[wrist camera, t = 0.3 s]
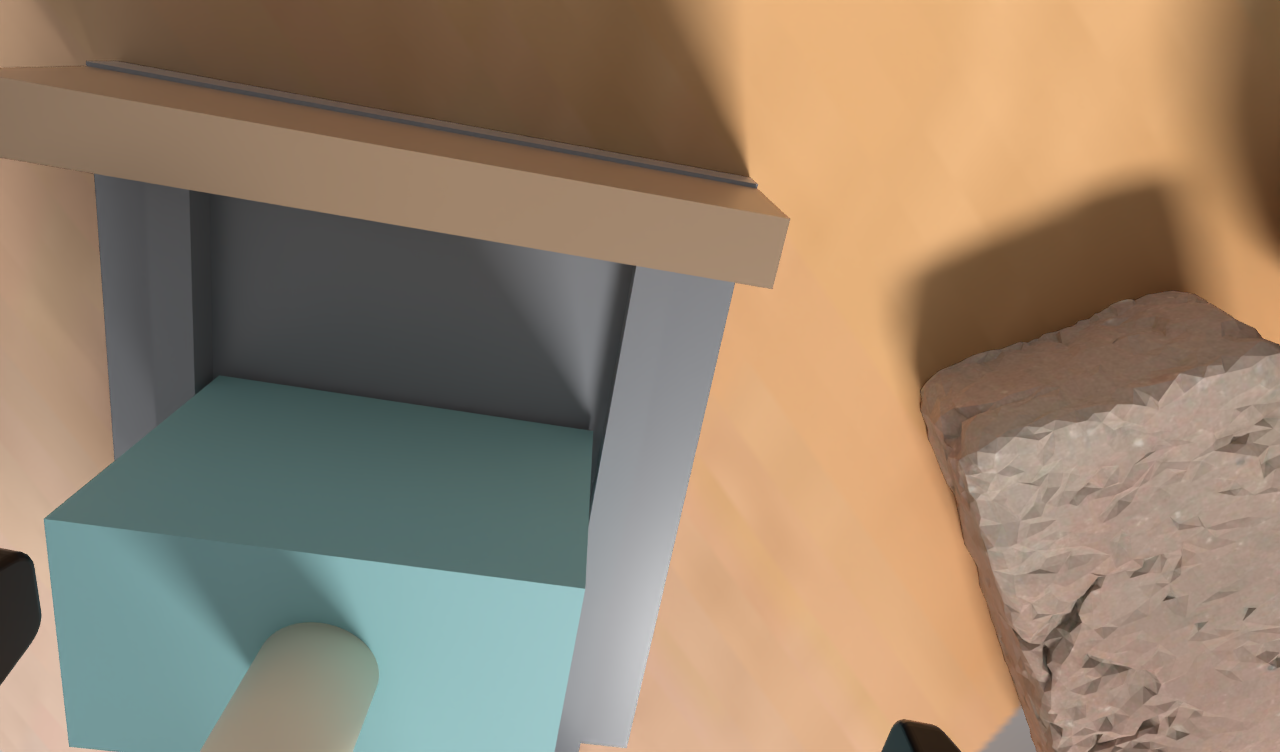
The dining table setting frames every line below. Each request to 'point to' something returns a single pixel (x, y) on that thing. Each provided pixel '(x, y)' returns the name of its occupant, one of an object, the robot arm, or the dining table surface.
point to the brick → (1126, 523)
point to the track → (417, 291)
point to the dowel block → (323, 579)
